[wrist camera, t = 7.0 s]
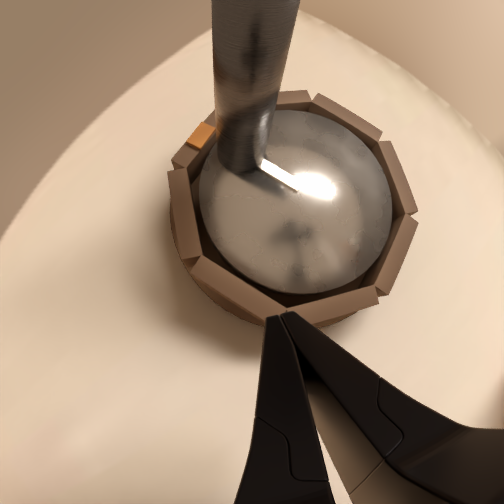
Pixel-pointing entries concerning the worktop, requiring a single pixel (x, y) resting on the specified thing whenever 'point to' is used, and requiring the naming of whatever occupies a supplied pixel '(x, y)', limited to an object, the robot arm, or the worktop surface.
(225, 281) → the dial housing
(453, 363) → the worktop surface
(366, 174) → the dial
